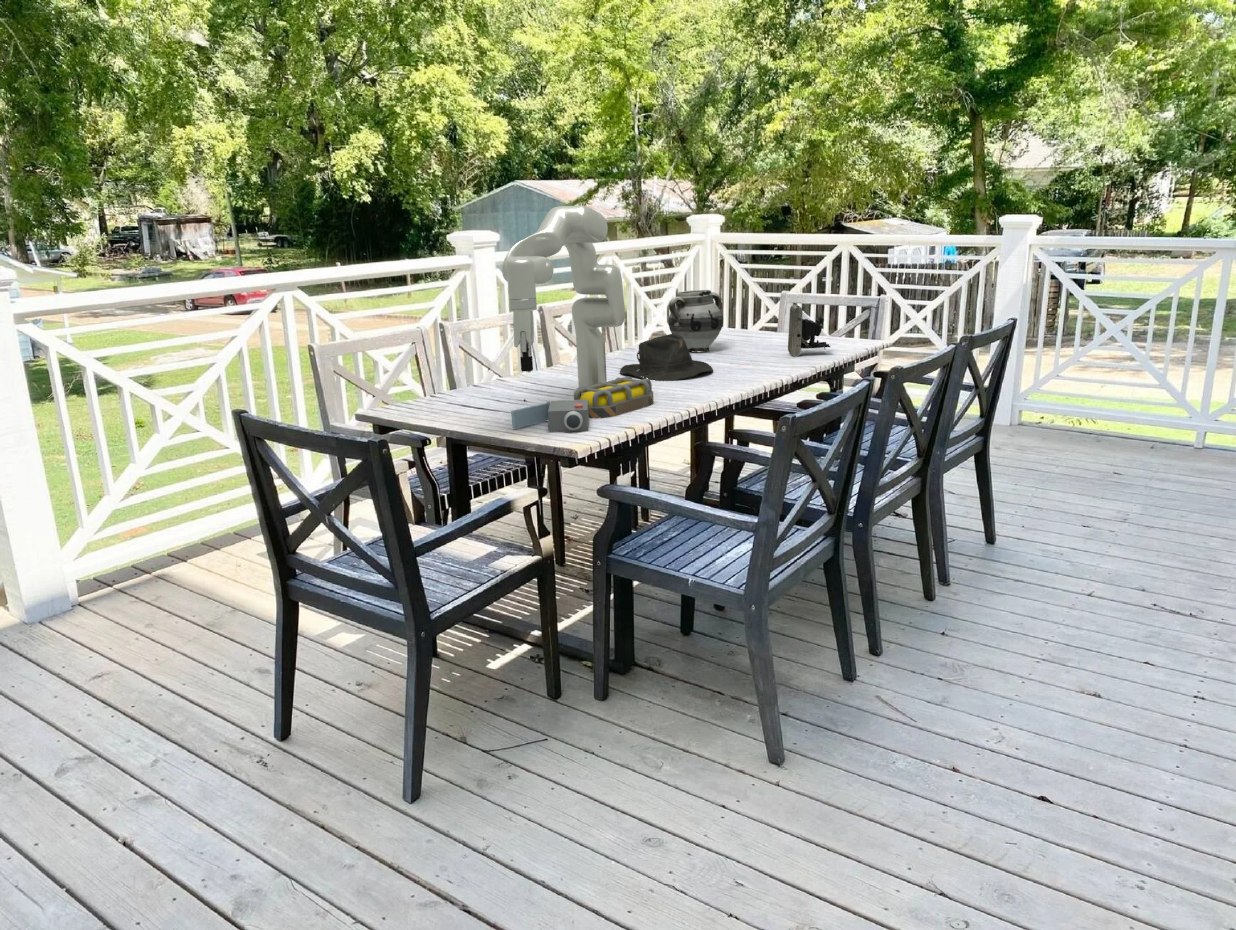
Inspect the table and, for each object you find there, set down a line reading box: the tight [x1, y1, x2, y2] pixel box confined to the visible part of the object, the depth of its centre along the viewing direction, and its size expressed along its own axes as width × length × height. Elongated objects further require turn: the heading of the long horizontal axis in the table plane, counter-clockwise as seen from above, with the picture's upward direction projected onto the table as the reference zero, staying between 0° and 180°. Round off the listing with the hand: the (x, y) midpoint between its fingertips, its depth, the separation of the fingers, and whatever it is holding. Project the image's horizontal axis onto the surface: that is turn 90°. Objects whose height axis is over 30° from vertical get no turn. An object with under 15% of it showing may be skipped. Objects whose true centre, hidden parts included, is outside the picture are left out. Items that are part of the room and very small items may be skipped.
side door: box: [510, 401, 551, 429], centre depth 269 cm, size 14×1×5 cm, turn 136°
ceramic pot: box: [667, 289, 724, 352], centre depth 384 cm, size 29×23×25 cm
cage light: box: [573, 375, 654, 419], centre depth 287 cm, size 15×8×30 cm
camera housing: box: [547, 399, 590, 433], centre depth 266 cm, size 16×11×7 cm
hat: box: [619, 333, 714, 382], centre depth 341 cm, size 32×35×14 cm
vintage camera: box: [787, 303, 831, 357], centre depth 366 cm, size 10×16×20 cm, turn 89°
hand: (527, 370), depth 260 cm, fingers closed
